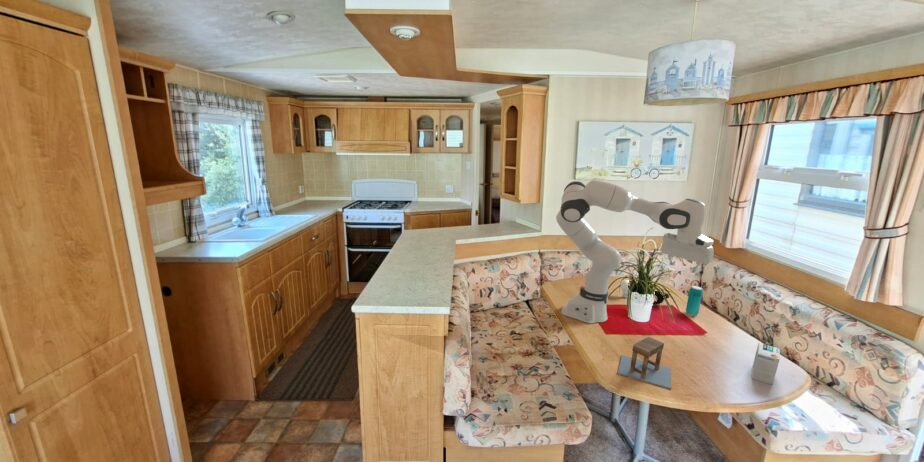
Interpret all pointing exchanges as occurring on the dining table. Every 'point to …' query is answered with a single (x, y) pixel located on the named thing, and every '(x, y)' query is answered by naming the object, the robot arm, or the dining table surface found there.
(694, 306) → the beverage can
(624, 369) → the mat
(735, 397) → the dining table surface
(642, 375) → the stool
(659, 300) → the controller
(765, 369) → the light bulb box
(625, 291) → the lightbulb
